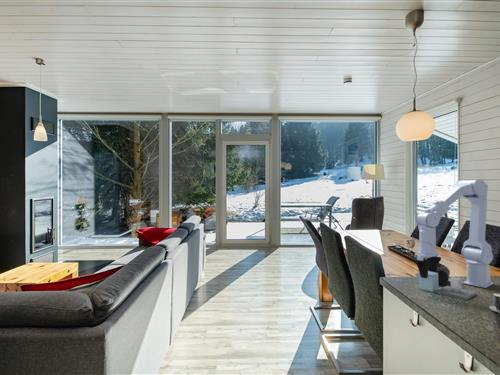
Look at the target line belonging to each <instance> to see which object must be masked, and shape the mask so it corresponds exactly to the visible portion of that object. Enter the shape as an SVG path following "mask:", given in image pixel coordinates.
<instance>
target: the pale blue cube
mask: <svg viewBox="0 0 500 375" xmlns="http://www.w3.org/2000/svg"><path fill="white" fill-rule="evenodd" d="M418 289H419V290H422V291H427V292H430V293H434V292H436V291H437V290H439V289H440V288H439V285H438V273H436V272H430V271H429V270H428V277H427V278H422V277H421V276H420V272H418Z"/></svg>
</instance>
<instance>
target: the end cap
mask: <svg viewBox="0 0 500 375" xmlns="http://www.w3.org/2000/svg"><path fill="white" fill-rule="evenodd" d="M436 273H438V286H443V285H445V284H446V283H448V281H449V279H450V275H451V270H449V267H447V266H446V265H443V264H441V265H440V266H439V265H438V267H437V271H436Z"/></svg>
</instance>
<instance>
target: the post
mask: <svg viewBox="0 0 500 375" xmlns="http://www.w3.org/2000/svg"><path fill="white" fill-rule="evenodd" d="M450 286H451V291H453V292H457V293H459V292H461V289H462V278H461V277H456V276H452V277H450Z"/></svg>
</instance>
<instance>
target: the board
mask: <svg viewBox="0 0 500 375" xmlns="http://www.w3.org/2000/svg"><path fill="white" fill-rule="evenodd" d="M435 292H436V294H438V295H441V296H446V297H450V298H455V299H460V300H463V301H468V300H469V299H471V298H473V297H475V296H476V295H477V291H476V290H469V289H464V288H461V292H459V293H457V292H453V291H451V285H445V286H443V287H442V288H439V289H438V290H436V291H435Z"/></svg>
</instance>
